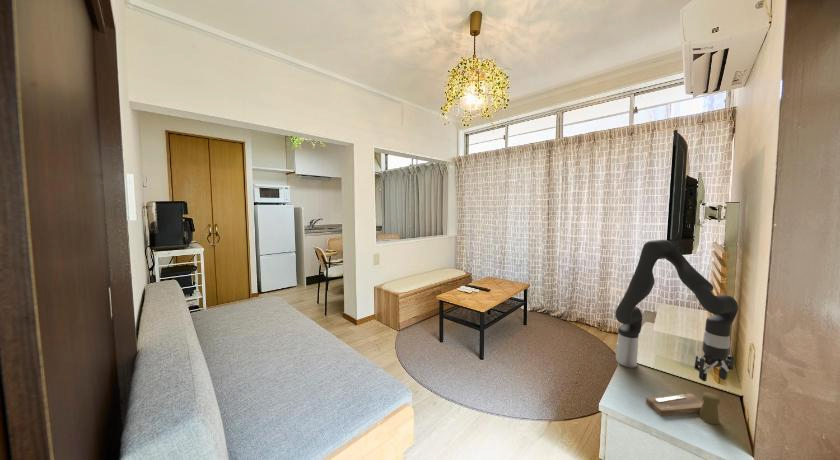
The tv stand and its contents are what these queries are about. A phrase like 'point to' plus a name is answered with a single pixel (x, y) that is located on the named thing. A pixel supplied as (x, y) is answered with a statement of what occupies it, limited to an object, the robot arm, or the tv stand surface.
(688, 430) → the tv stand surface
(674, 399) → the steel ruler
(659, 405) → the walnut board
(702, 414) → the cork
